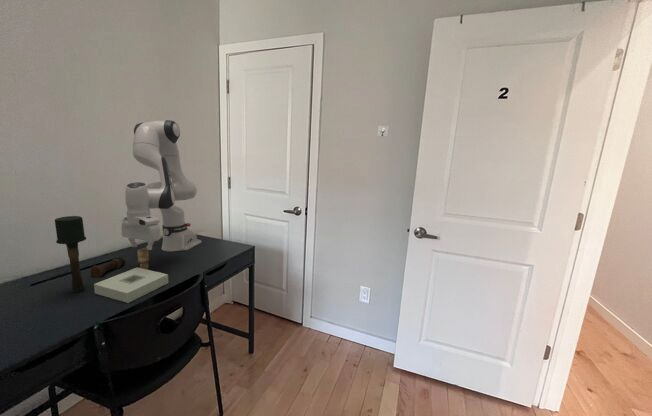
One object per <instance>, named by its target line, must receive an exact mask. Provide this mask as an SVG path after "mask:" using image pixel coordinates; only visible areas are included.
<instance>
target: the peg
mask: <svg viewBox="0 0 652 416" xmlns="http://www.w3.org/2000/svg"><path fill="white" fill-rule="evenodd" d="M149 256H150V255H149V250H147V249H146V247H144V248H139V249H137V263H138V264H139V268H142V269H147V270H149V263H150V257H149Z"/></svg>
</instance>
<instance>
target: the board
mask: <svg viewBox="0 0 652 416" xmlns="http://www.w3.org/2000/svg"><path fill="white" fill-rule="evenodd" d="M167 284H169V274H168V273H163V272H160V271H155V270H151V269H148V270H147V269H142V268H140V267H135V268H131V269H130V270H126V271H125V272H122V273H119V274H116V275H114V276H112V277H109V278H106V279H104V280H101V281H98V282H96V283H94V284H93V288H94V294H95V295H99V296H103V297H106V298H109V299H112V300H115V301H120V302H123V303H126V304H129V303H131V302H133V301H135V300H137V299H139V298H142V297H144V296H145V295H147V294H149V293H151V292H153V291H155V290H157V289H159V288H161V287H163V286H166V285H167Z"/></svg>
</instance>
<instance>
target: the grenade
mask: <svg viewBox="0 0 652 416" xmlns="http://www.w3.org/2000/svg"><path fill="white" fill-rule="evenodd" d="M54 225H55V233H56V240H55V243H56V244H59V245H66V249H67V250H66V251H67V257H68V259H69V264H70V265H69V266H70V272H71V273H70V274H71V290H72V292H73V293H80V292H82V291H84V289H85V286H84V281H83V277H82V273H81V266H80V257H79V256H80V252H79V243H80V242H83V241H86V240H87V236H85V235H86V234H85V228H84V221H83V217H82V216H79V215H70V216H69V215H67V216H61V217H57V218H55V219H54Z"/></svg>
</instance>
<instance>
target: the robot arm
mask: <svg viewBox="0 0 652 416" xmlns="http://www.w3.org/2000/svg"><path fill="white" fill-rule="evenodd" d="M133 134H134V136H133V140H132V141H133V143H132V155H133V158H134V160H136V161H137V162H138V163H140V164H141V165H143V166H146V167H149V168H151V169H154V170H157V171H158V174H159V179H160V181H155V182H151V183H148V184H146V183H145V182H139V181H138V182H137V181H135V182H130V183H128V184H126V186H125V192H124V194H125V195H124V196H125V198H124V200H125V206H126V208H127V210H126V217H124V218H123V219H122V222H121V236H122V237H123V238H128V241H129V243H130V247H131V248H137V247H138V242H136V240H140V241H146V242H147V245H146V247H145V248H146V249H147V250H148V251H151V250H153V245H154V243H155V242H158V241H159V240H161V228H162V233H163V236H162V243H161V250H162V251H164V252H179V251H188V250H191V249H192V248H194V247H196V246H198V245H200V244H202V240H201V239H198V236H197V233H196V232H194V231H193V230H191V229H189V228H188V227H191V223H190V222H187V223H186V222H185V211H184V210H183V209H182V208H181V207H179V206H176V205H175V202H177V201H187V200H192V199H194V198H196V195H197V192H198V191H197V189H198V188H197V187H196V184H195V183H194V182H192V181H190V180H189V179H188V178H187V176H186V175H184V172H183V170H182V166H181V165H182V164H181V159H180V152H179V151H180V150H179V148H178V143H177V142H178V140H179V138H180V136H181V130H180V127H179V125H178V123H176V122H175V121H174V120H168V119H165V120H153V121H146V122H140V123H136V124H135V126H134V127H133ZM152 209H159V210H160V212H161V216H162V227H160V225H159V224H160V218H158V217H157V216H155V215H153V214H152V213H151V210H152Z"/></svg>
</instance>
